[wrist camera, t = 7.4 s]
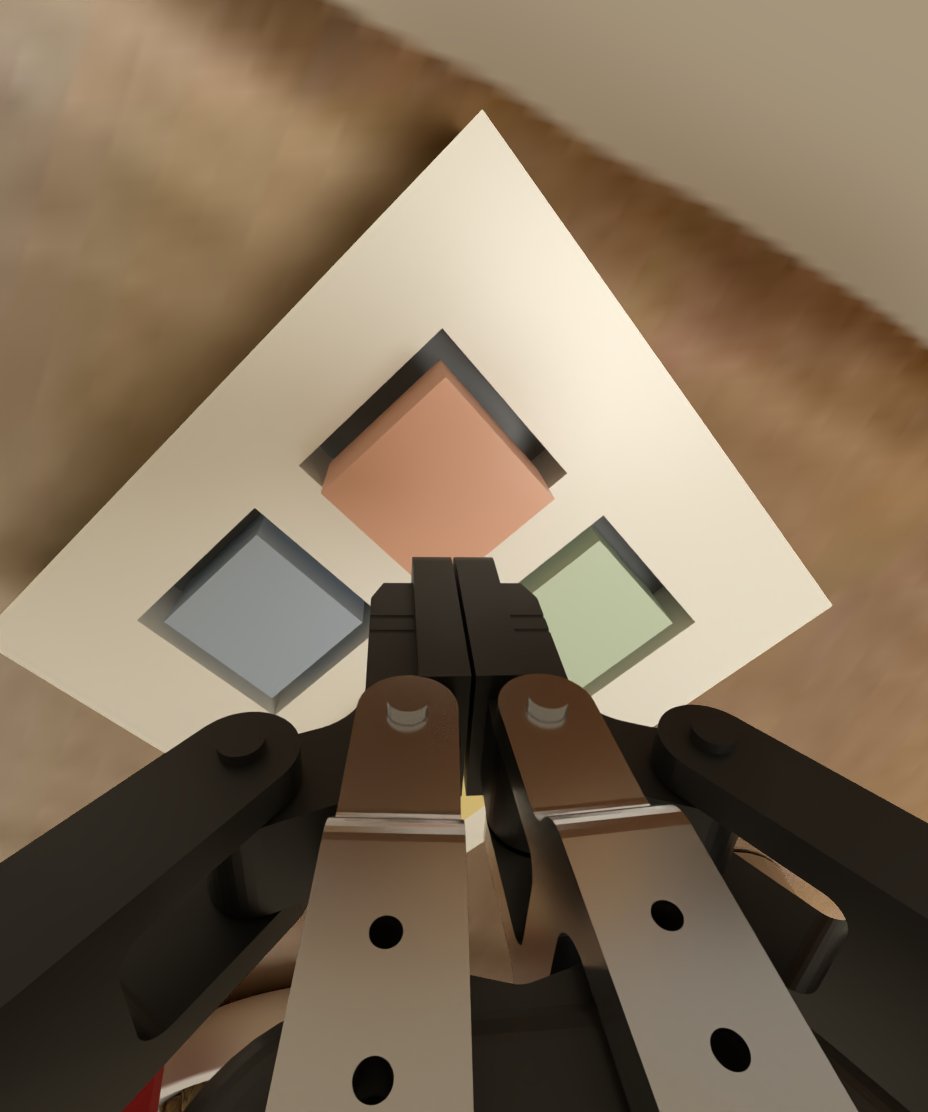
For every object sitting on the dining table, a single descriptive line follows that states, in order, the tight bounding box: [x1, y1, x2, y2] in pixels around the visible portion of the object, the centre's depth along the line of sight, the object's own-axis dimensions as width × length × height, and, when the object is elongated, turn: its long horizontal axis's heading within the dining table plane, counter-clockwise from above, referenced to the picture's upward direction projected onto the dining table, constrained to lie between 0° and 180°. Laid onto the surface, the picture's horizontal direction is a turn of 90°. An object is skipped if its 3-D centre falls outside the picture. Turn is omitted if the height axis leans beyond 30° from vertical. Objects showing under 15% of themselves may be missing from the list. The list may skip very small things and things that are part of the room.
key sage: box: [519, 524, 672, 688], centre depth 23 cm, size 4×4×2 cm
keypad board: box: [0, 110, 832, 853], centre depth 23 cm, size 19×21×4 cm
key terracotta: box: [321, 359, 555, 575], centre depth 18 cm, size 4×4×2 cm
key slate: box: [164, 513, 365, 698], centre depth 22 cm, size 4×4×2 cm
